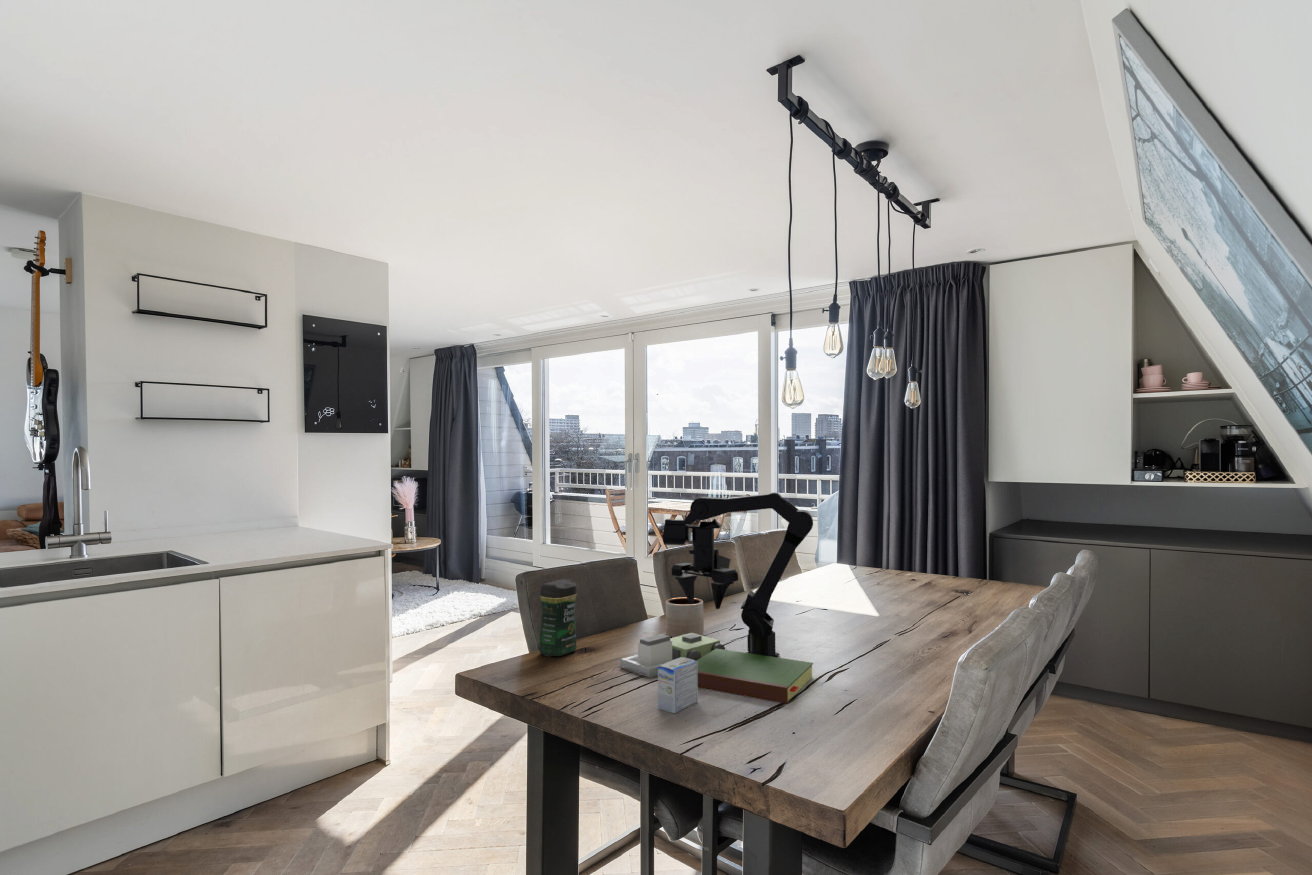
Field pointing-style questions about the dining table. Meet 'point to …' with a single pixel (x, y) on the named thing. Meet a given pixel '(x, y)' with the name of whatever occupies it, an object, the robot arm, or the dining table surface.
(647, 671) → the gray rectangular open frame
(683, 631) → the planter
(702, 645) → the green wheeled cart
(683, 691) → the medicine box
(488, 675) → the dining table surface
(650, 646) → the chute block
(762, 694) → the hardcover book
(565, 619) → the coffee jar
